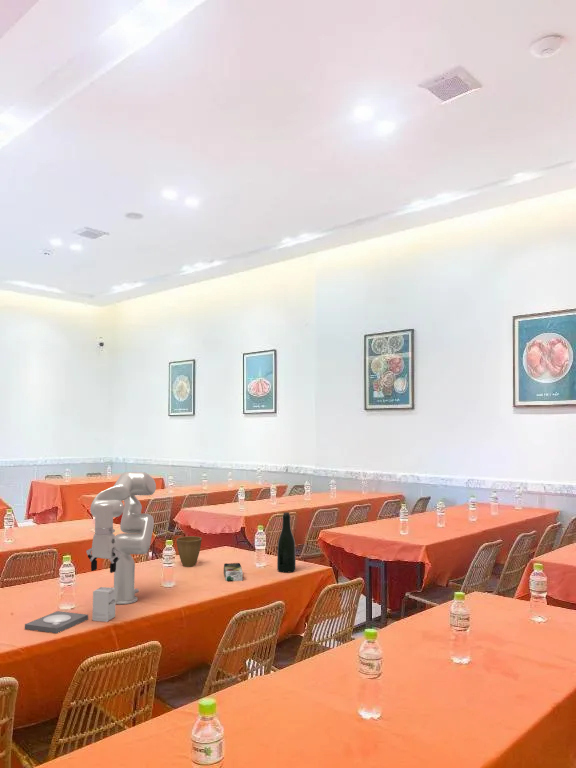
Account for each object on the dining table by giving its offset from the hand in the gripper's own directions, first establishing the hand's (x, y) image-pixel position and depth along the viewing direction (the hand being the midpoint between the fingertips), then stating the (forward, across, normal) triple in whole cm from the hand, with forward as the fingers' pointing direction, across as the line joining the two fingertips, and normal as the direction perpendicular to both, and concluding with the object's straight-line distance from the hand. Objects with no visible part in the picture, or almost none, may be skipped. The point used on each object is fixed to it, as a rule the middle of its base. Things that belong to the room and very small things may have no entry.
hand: (103, 571), depth 282 cm
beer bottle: (+22, -42, -114) cm, 123 cm away
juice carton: (+22, -20, -90) cm, 94 cm away
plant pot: (+22, +17, -106) cm, 110 cm away
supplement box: (+20, 0, 0) cm, 21 cm away
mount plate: (+20, +13, +13) cm, 27 cm away
